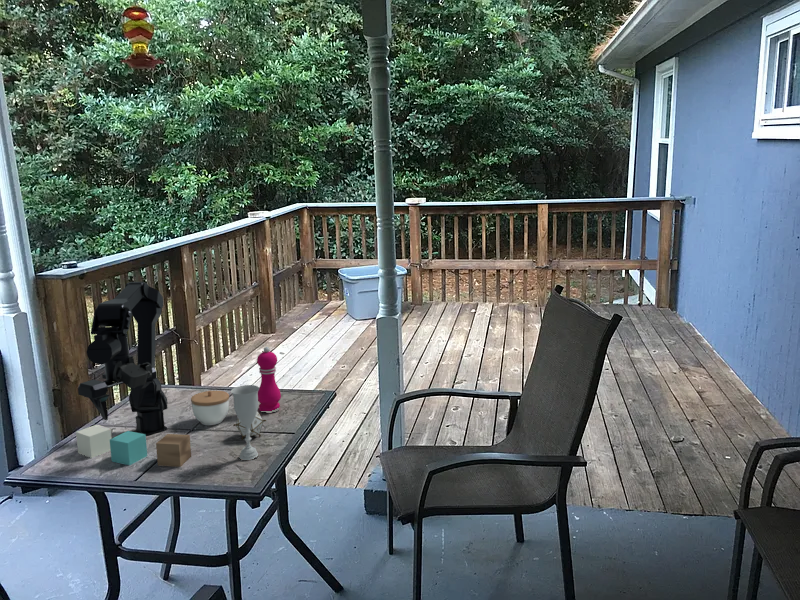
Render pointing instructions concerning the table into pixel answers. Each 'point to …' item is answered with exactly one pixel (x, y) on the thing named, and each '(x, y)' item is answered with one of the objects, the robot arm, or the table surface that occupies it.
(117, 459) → the teal block
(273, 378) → the pepper mill
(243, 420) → the chalice
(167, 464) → the walnut block
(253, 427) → the game die
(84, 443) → the cream block
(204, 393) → the lidded jar
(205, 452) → the table surface
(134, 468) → the table surface
